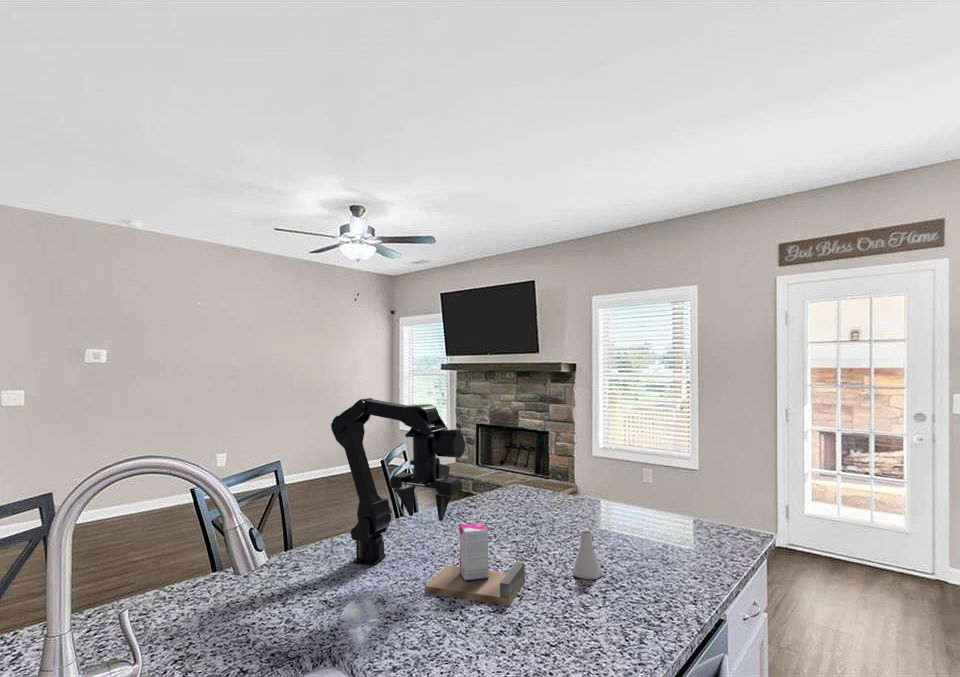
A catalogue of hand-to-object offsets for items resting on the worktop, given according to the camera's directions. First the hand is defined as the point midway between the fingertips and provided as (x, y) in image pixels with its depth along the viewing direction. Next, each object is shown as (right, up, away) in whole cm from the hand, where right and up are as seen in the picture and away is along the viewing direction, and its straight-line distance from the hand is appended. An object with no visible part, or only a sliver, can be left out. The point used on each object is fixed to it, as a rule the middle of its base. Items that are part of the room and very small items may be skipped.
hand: (426, 518), depth 129 cm
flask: (+39, -12, -5) cm, 41 cm away
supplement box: (+12, -11, -8) cm, 18 cm away
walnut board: (+13, -12, -11) cm, 20 cm away
